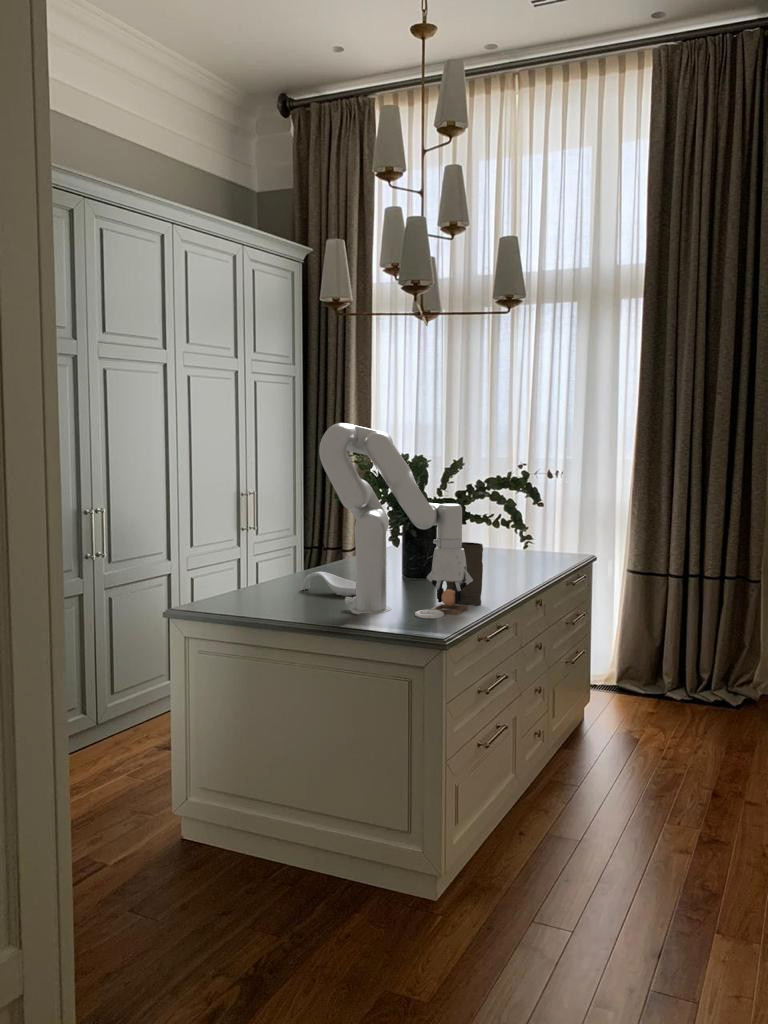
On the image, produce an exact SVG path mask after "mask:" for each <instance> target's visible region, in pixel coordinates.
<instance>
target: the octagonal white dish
mask: <svg viewBox="0 0 768 1024" xmlns="http://www.w3.org/2000/svg"><path fill="white" fill-rule="evenodd" d="M414 614H415V616H416V617H417V618H421V619H440V618H443V616H444V615H445V614H444V612H442V611H439V610H430V609H422V610H421V609H420V610H419V609H418V611H415V612H414Z"/></svg>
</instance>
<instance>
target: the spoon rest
mask: <svg viewBox="0 0 768 1024" xmlns="http://www.w3.org/2000/svg"><path fill="white" fill-rule="evenodd" d="M316 576H317V577H318V576H319V577H322V579H323V580H324V581H325V583H326V584H327V585H328V587H329V588H330V590H331V591H332V592H333V593H334V594H335V595H337V596H338V595H342V596H341V597H352V596H351V595H354V596H356V581H354V580H350V579H347V578H343V577H341V576H338V575H335V574H332V573H329V572H326V571H315V572H311V573H309V574H308V575H307V576H305V577H304V578H303V580H302V583H301V585H300V591H302V590H304V591H306V590H305V589H308V590H310V589H311V581H312V579H313V578H314V577H316ZM309 588H310V589H309Z"/></svg>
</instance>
